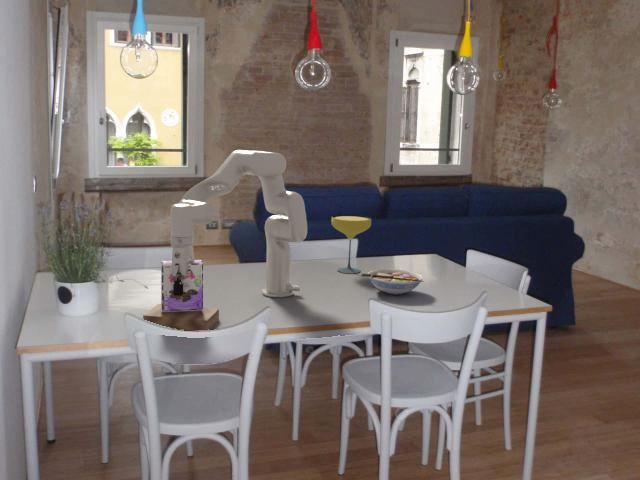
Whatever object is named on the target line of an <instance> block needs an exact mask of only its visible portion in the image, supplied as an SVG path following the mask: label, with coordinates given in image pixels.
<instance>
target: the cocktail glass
mask: <svg viewBox="0 0 640 480" xmlns="http://www.w3.org/2000/svg"><path fill="white" fill-rule="evenodd" d="M330 221H331V226H332V227H333V228H334V229H335V230H337V231H338V232H340V233H342V234H344V235H345V237H347V239H348V240H349V244H348V261H347V266H346V267H341V268H340V267H339V268H337V269H338V271H340V272H344V273H343V274H345V273H356V274H359V273H358V272H360V273H361V270H360V269H359V268H355V267H352V266H351V246H352V245H351V244H352V240H353V239H354V238H355V237H356V236H357V235H359V234H361V233H364V232H365V231H367V230H369V229H370V228H371V226H372V218H371V217H369V216H366V215H362V214H347V213H345V214H334V215H333V216H331V220H330ZM338 271H337V272H338ZM340 272H339V273H340Z"/></svg>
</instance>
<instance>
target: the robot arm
mask: <svg viewBox="0 0 640 480" xmlns="http://www.w3.org/2000/svg"><path fill="white" fill-rule="evenodd" d="M286 169H287V159H286V158H285V156H284V155H283V154H281V153H279V152H271V151H263V150H262V151H261V150H246V149H245V150H243V149H237V150H233V151H232V152H231V153H230V154H229V155H228V156H227V158H226V159H225V160H224V161H223V162H222V163H221V165H220V166H219V167H218V168H217V170H216V171H215V172H214V174H212V175H211V176H210V177H207V178H206V179H204V180H202V181H201V182H199V183H197V184H195V185H194V186H192V187H190V189H188V190H187V192H186V193H184V195H183V196H182V197H181V198H180V200H179V202H178V203H175V204H174V203H173V204H172V205H171V207H170V246H171V247H172V252H171V253H172V254H171V261H172V276H173V294H174V295H178V296H182V295H183V284H182V281H183V275H184V276H187V275H188V273H189V263H190V262H191V261H193V260H195V254H194V245H195V244H194V243H195V242H194V241H195V240H194V238H195V236H194V235H195V233H194V228H195V227H194V226H195V225H208V224H211V223H212V222H213V221H214V220H215V218H216V216H217V211H216V208H215V206H214V205H212V204H211V203H209V202H205V201H207V200H209V199H212V198H216V197H220V196H224V195H228V194H230V193H231V192H232V191H233V190H234V189H235V188H236V186H237V185H238V184H239V183H240V182H241V180H242V179H243V177H244V176H246V175H247V176H257V177H258V179H259V181H260V184H261V188H262V189H261V190H262V195H263V201H264V206H265V209H266V211H267V212H269V213H270V214H273V215H270V216H269V217H268V218H267V219H266V220H265V224H264V233H265V240H266V262H265V263H266V265H265V267H266V268H265V287H264V288H262V289H261V294H262V295H263V296H265V297H270V298H286V297H291V296H293V294H294V292H300V291H301V286H299V285H293V284H292V281H291V259H292V257H291V256H292V254H291V253H292V251H291V246H290V244H289V242H290V243H302V242H303V241H304V240H305V239H306V238H307V236H308V235H307V234H308V220H307V213H306V206H305V202H304V199H303V197H302V195H301V194H300V193H298V192H296V191H290V190H287V189H286V188H285V182H284V179H283V177H284V176H283V175H282V174H283V173H284V172H285V171H286ZM178 272H179V273H181V275H179V274H178ZM179 277H180V279H179Z"/></svg>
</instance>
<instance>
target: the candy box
mask: <svg viewBox="0 0 640 480" xmlns="http://www.w3.org/2000/svg"><path fill="white" fill-rule="evenodd" d="M160 264H161V265H160V266H161V267H160V271H161V272H160V276H161V277H160V279H161V281H160V284H161V285H160V286H161V287H160V290H161V291H160V294H161V296H160V297H161V299H160V301H161V303H160V304H161V307H162V311H187V310H203V307H204V263H203V260H202V259H197V260H196V259H194V260H193V261H191V262H190V263H189V273H188V275H187V276H184V275H183V281H182V284H183V295H182V296H178V295H174V294H173V276H172V260H161V261H160ZM178 274H179V275H181V273H179V272H178ZM179 279H180V277H179Z"/></svg>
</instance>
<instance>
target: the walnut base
mask: <svg viewBox="0 0 640 480" xmlns="http://www.w3.org/2000/svg"><path fill="white" fill-rule="evenodd" d="M219 317H220V308H216V307H215V308H213V307H204V306H203V310H187V311H162V307H161V303H158V304H156V305H155V306H154V307H152V308H151V309H149V310H148V311H147V312H145V313H144V314H143V316H142V319H144V320H147V321H150V322H153V323H156V324H159V325H162V326H166V327H170V328H176V329H184V330H183V331H187V330H208V329H210V330H211V329H212V327H214V325H215V324H216V323H218V322H219V321H220V318H219Z"/></svg>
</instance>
